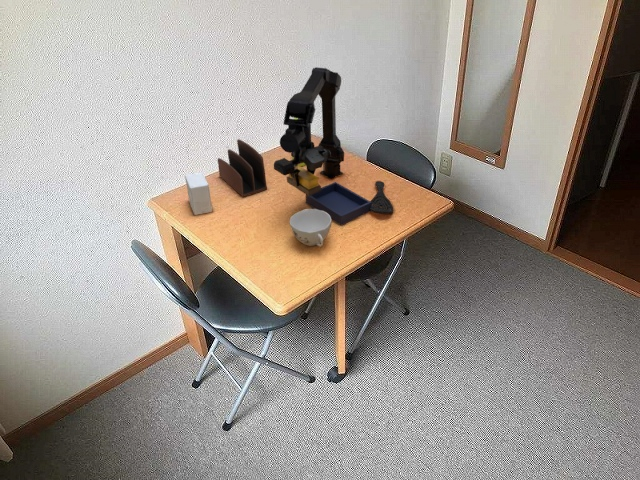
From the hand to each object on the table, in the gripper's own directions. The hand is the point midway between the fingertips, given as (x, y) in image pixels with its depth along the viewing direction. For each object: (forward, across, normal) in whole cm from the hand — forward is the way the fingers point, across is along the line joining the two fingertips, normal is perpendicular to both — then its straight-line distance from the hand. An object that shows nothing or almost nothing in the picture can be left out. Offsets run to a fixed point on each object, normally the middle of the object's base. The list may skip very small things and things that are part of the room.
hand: (303, 183), depth 158 cm
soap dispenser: (+12, +20, +30) cm, 38 cm away
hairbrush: (+11, +25, -11) cm, 29 cm away
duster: (+1, 0, 0) cm, 1 cm away
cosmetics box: (+11, -26, +26) cm, 38 cm away
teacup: (+11, -9, -16) cm, 22 cm away
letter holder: (+11, -6, +31) cm, 33 cm away
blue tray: (+11, +11, -5) cm, 16 cm away
